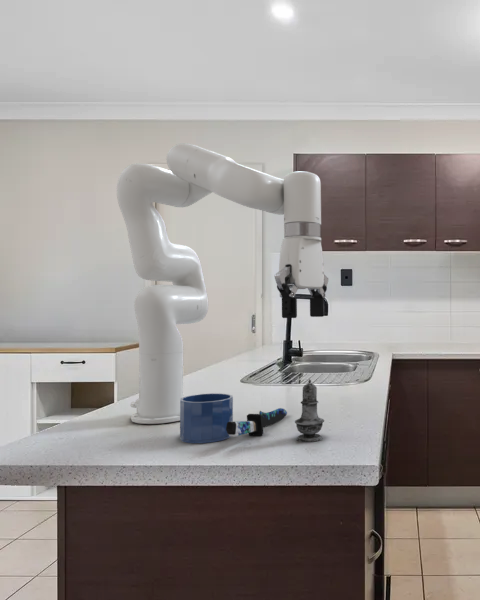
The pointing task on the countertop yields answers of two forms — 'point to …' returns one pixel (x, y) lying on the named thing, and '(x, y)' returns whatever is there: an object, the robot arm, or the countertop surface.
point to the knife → (255, 423)
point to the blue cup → (205, 417)
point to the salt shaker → (309, 416)
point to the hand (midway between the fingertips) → (303, 317)
